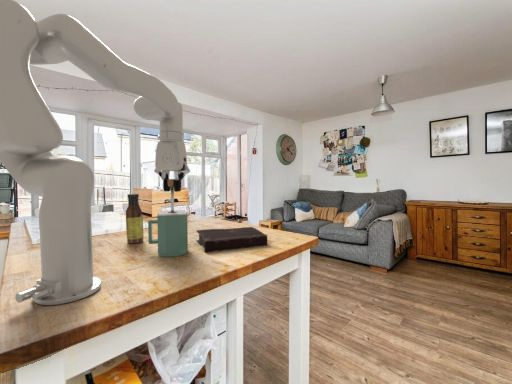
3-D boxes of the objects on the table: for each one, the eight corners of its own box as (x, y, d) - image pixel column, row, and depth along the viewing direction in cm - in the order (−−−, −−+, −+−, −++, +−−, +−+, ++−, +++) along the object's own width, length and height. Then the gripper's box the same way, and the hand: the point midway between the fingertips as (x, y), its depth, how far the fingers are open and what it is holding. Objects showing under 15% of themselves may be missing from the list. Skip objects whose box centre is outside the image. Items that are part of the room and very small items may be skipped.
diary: (267, 247, 99) (268, 235, 98) (204, 255, 89) (204, 241, 88) (250, 236, 116) (250, 225, 115) (195, 241, 106) (195, 229, 106)
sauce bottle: (146, 241, 103) (145, 193, 102) (132, 245, 98) (131, 194, 96) (137, 239, 107) (136, 193, 105) (123, 242, 101) (121, 194, 100)
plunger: (183, 223, 86) (183, 179, 85) (161, 224, 83) (160, 179, 82) (183, 220, 92) (182, 179, 91) (162, 220, 90) (161, 179, 89)
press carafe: (188, 255, 85) (188, 213, 84) (147, 259, 81) (146, 215, 80) (187, 247, 95) (186, 209, 94) (150, 250, 91) (149, 211, 90)
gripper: (143, 137, 84) (144, 191, 86) (187, 135, 80) (187, 192, 81) (157, 140, 92) (158, 190, 93) (198, 139, 87) (198, 191, 89)
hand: (172, 190), depth 87 cm, fingers closed on plunger, 3 cm apart
